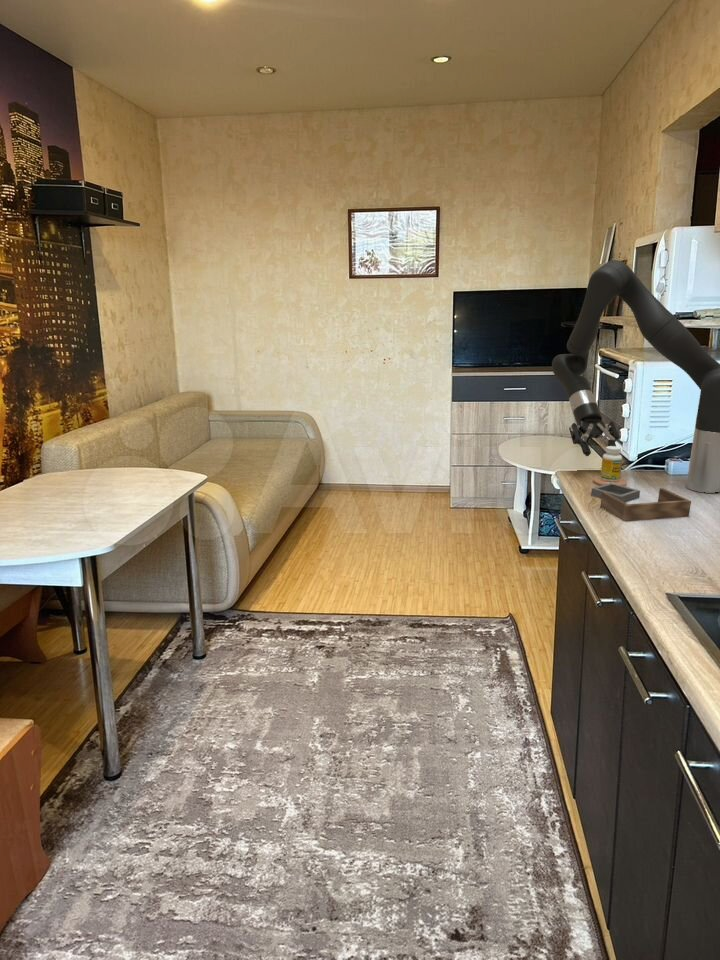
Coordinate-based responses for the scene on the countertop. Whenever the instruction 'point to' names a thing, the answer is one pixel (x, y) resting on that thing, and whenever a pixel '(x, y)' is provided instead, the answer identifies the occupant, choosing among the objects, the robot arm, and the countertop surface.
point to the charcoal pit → (616, 492)
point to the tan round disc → (601, 482)
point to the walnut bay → (648, 507)
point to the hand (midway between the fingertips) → (601, 454)
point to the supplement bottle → (611, 464)
